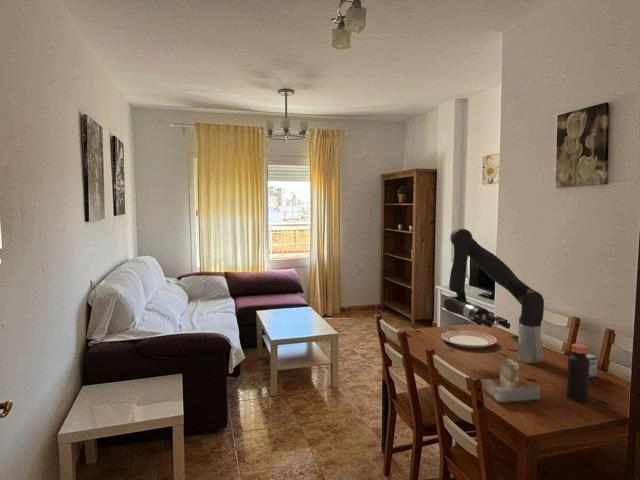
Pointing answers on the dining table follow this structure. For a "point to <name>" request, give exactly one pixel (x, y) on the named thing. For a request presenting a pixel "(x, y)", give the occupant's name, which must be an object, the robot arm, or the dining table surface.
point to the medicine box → (592, 365)
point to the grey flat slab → (490, 390)
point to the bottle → (578, 374)
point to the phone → (514, 338)
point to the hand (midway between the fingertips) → (500, 325)
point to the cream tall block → (509, 373)
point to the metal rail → (517, 393)
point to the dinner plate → (469, 339)
